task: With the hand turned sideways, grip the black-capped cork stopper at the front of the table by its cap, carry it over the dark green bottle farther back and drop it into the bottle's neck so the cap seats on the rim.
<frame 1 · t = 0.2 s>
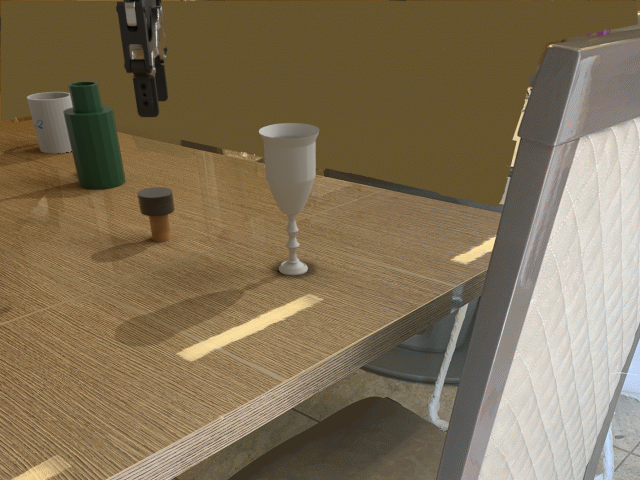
hand: (154, 108, 72), 20 cm above the table, tool pointing down, fingers open, 8 cm apart
mug: (61, 147, 137), on the table
chalice: (293, 282, 82), on the table
stopper: (163, 249, 91), on the table
bottle: (102, 182, 116), on the table
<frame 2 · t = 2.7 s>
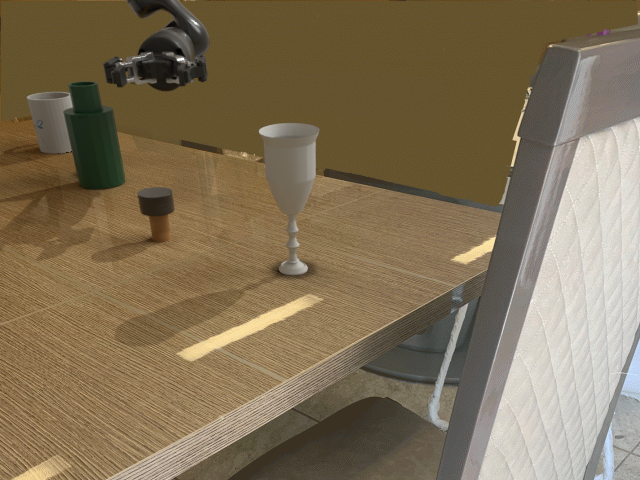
hand: (149, 78, 87), 20 cm above the table, tool horizontal, fingers open, 8 cm apart
nothing on the table moved.
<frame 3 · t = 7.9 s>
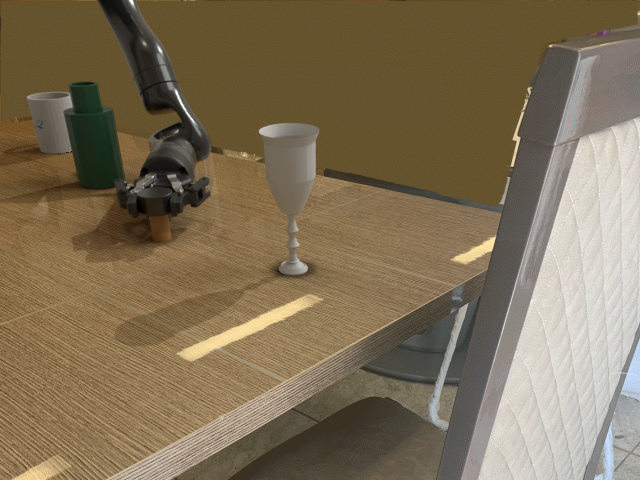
hand: (154, 209, 85), 7 cm above the table, tool horizontal, fingers closed on stopper, 4 cm apart
stopper: (163, 249, 91), on the table, touching gripper
everything else where it was.
when the fingers open (20 cm above the table, at t = 18.1 s): stopper drops 3 cm, resting on bottle.
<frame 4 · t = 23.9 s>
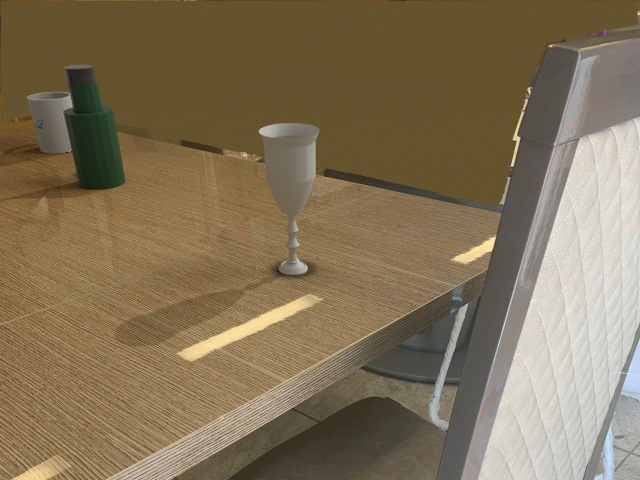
stopper: (89, 119, 110), point 10 cm above the table, touching bottle
everything else where it was.
at the end: stopper 0.2 cm off-centre in the bottle, point 10.5 cm above the bottle's base; stopper tilted 0°; the gripper is holding nothing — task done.
